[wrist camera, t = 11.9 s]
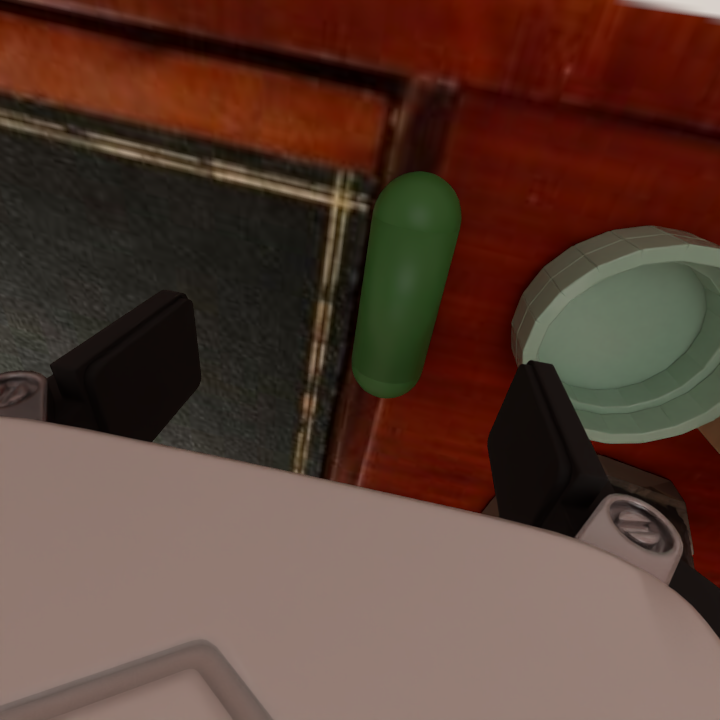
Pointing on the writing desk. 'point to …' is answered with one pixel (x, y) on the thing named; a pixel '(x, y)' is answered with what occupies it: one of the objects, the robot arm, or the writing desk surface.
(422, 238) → the cucumber
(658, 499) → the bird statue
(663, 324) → the pale green round dish
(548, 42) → the writing desk surface
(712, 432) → the oak stand
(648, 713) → the robot arm
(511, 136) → the writing desk surface
